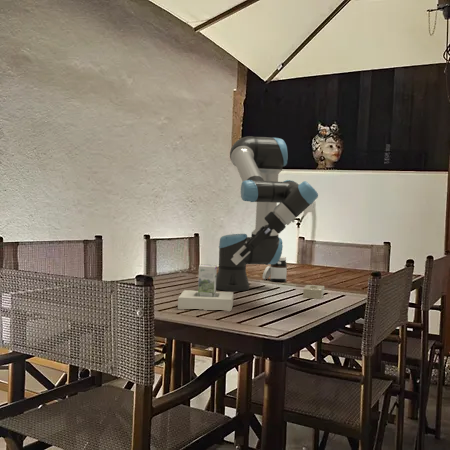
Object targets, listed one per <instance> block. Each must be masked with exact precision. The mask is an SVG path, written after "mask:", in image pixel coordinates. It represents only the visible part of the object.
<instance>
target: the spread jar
mask: <svg viewBox="0 0 450 450" xmlns="http://www.w3.org/2000/svg"><path fill="white" fill-rule="evenodd" d="M286 260H287V257H285V256H281V257H280V260H279V261H278V262H277V263H276V264H270V265H266V267H265V269H264V271H263V273H262V279H263V280H265V281H267V280H268V279H270V281H271V282H274V283H285V282H287V274H288V273H287V272H288V271H287V270H288V265H287V261H286ZM266 279H267V280H266Z"/></svg>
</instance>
